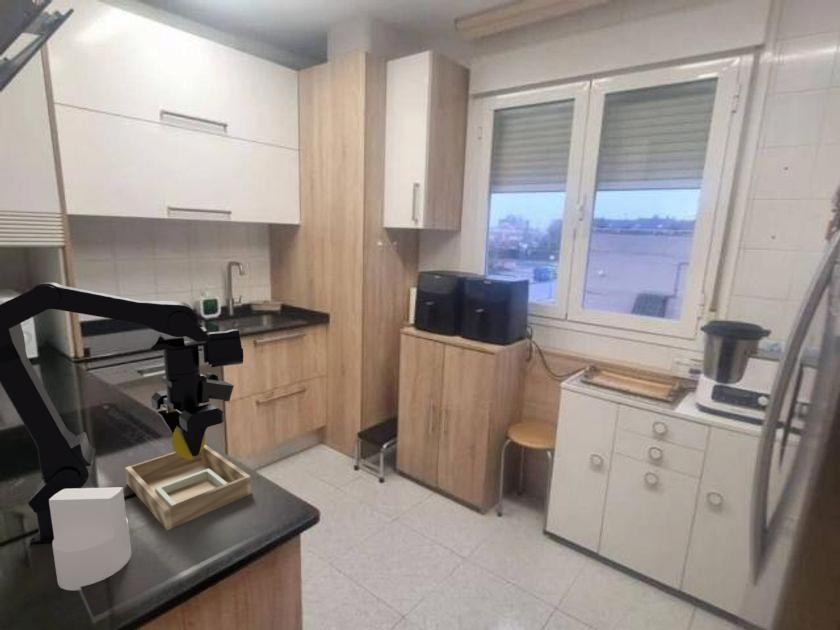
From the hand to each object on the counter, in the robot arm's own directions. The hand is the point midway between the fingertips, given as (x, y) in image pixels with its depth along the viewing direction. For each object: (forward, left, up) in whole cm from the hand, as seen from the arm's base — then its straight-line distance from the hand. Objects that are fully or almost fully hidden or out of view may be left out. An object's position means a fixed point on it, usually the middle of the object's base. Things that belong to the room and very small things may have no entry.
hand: (189, 450), depth 83 cm
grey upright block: (-17, +9, -10) cm, 22 cm away
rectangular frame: (0, 0, -9) cm, 9 cm away
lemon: (0, 0, -2) cm, 2 cm away
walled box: (+2, +2, -9) cm, 10 cm away
